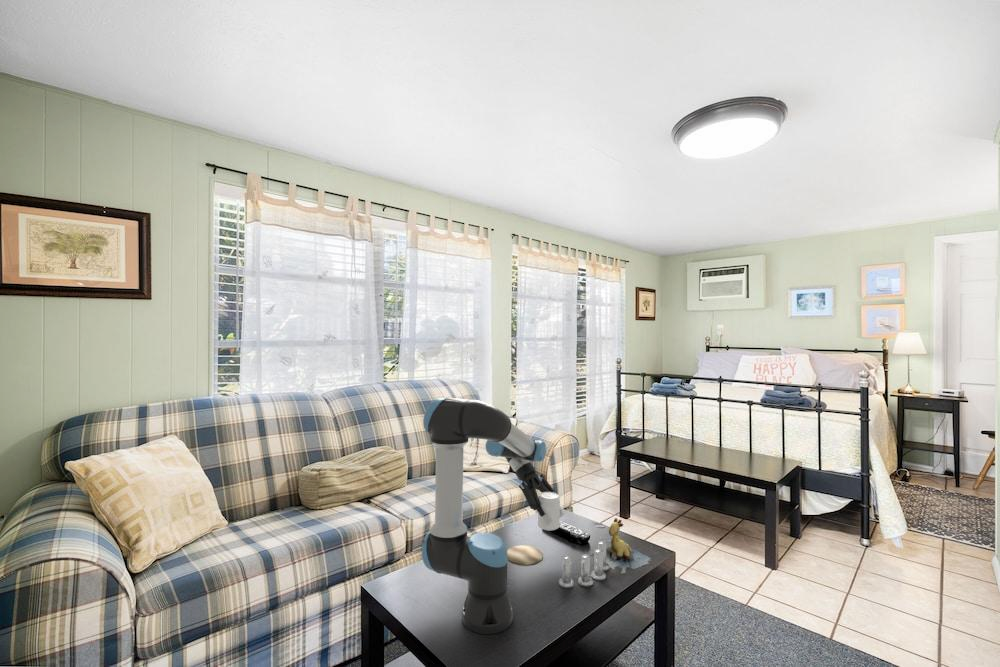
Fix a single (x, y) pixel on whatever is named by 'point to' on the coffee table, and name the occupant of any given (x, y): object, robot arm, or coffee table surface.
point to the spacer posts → (586, 568)
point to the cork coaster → (524, 555)
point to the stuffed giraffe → (622, 551)
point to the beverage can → (550, 510)
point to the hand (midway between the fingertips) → (556, 519)
